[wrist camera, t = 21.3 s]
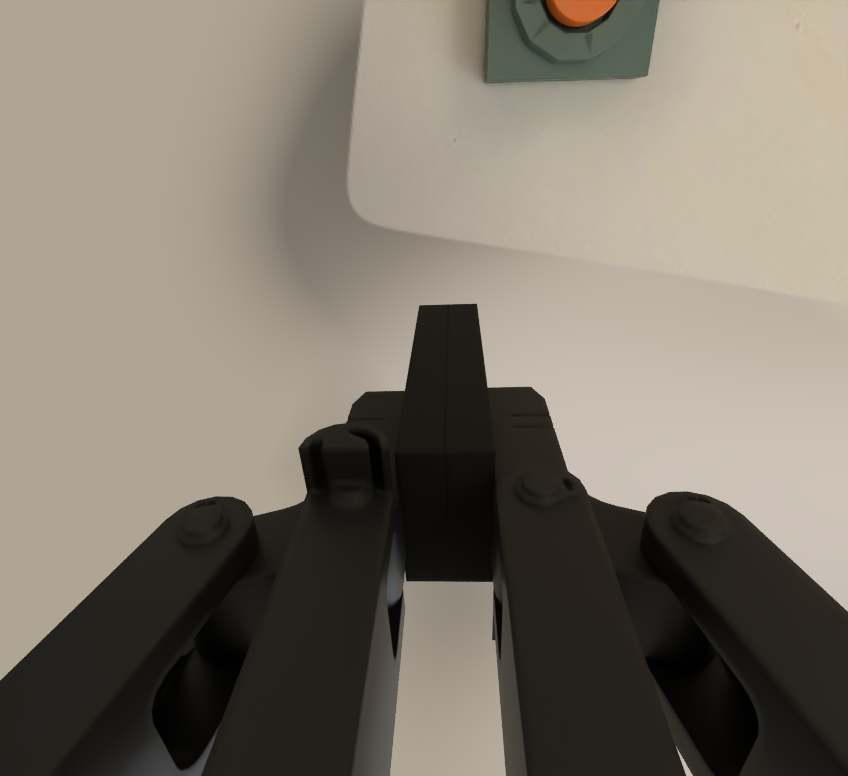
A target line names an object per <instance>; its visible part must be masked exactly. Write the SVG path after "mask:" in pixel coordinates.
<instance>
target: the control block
mask: <svg viewBox="0 0 848 776" xmlns="http://www.w3.org/2000/svg"><path fill="white" fill-rule="evenodd" d="M658 6H659V0H617V1H616V3H615V4H614V5H613V6H612V8H611V9H610V10H609V11H608V12H606V13H605V14H604V15H603V16H601V17H600V18H598V19H597V20H595V21H594V22H592V23H590V24H588V25H585V26H582V27H569V26H566V25H563V24H561V23H560V22H558V21H557V20H556V19H555V18H554V17H553V16H552V14H551V13H550V11H549V9H548V7H547V4H546V0H487V10H486V46H485V83H503V82H535V81H567V80H599V79H631V78H639V77H644V76H647V75H648V70H649V63H650V57H651V51H652V44H653V38H654V32H655V25H656V19H657V13H658Z"/></svg>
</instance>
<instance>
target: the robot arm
mask: <svg viewBox="0 0 848 776" xmlns="http://www.w3.org/2000/svg"><path fill="white" fill-rule="evenodd" d="M299 453H300V458H301V463H302V468H303V473H304V478H305V483H306V488H307V495H306V498H305V500H304V501H303V502H301V503H299V504H297V505H295V506H292V507H289V508H286V509H282V510H278V511H274V512H269V513H265V514H261V515H256V516H253V514H252V510H251V509H250V508H249V506H248V505H247V504H246V503H245V502H244V501H242V500H239V499H236V498H234V497H212V498H207V499H203V500H199V501H196V502H194V503H192V504H190V505H188V506H185V507H183V508H181V509H180V510H178V511H177V512H176V513H174V514H173V515H172V516H170V517H169V518H168V519H166V520H165V521H164V522H163V523H162V524H161V525H160V526H159V527H158V528H157V529H156V530H155V531H154V532H153V533H152V534H151V535H150V536H149V537H148V538H147V539H146V540H145V541H144V542H143V543H142V544H141V545H140V546H139V547H137V548H136V549H135V551H133V552H132V553H131V554H130V555H129V556H128V557H127V559H125V560H124V561H123V562H122V563H121V564H120V565H119V566H118V567H117V568H116V569H115V570H114V571H113V572H112V573H111V574H110V575H109V576H108V577H107V578H106V579H105V580H104V581H103V582H101V584H99V585H98V586H97V587H96V588H95V589H94V590H93V591H92V592H91V593H90V594H89V595H88V596H87V597H86V598H85V599H84V600H83V601H82V602H81V603H80V604H79V605H78V606H77V607H76V608H75V609H74V610H73V611H72V612H71V613H69V614H68V615H67V616H66V617H65V618H64V619H63V620H62V621H61V622H60V623H59V624H58V625H57V626H56V627H55V628H54V629H53V630H52V631H51V632H50V633H49V634H48V635H47V636H46V637H45V638H44V639H43V640H42V641H41V642H40V643H39V644H38V645H37V646H36V647H35V648H34V649H32V650H31V651H30V652H29V653H28V654H27V655H26V656H25V657H24V658H23V659H22V660H21V661H20V662H19V663H18V664H17V665H16V666H15V667H14V668H13V669H12V670H11V671H10V672H9V673H8V674H7V675H6V676H5V677H4V678H3V679H2V680H0V776H390V768H391V757H392V745H393V735H394V724H395V713H396V701H397V691H398V681H399V670H400V659H401V648H402V636H403V625H404V615H405V604H404V594H403V583H404V573H405V572H406V581H453V582H454V581H456V582H461V581H462V582H464V581H466V582H493V585H494V593H493V594H494V595H493V635H492V636H493V637H492V640H496V653H497V665H498V678H499V691H500V704H501V716H502V729H503V742H504V753H505V754H504V755H505V767H506V776H686V774H685V771H684V769H683V766H682V763H681V760H680V757H679V754H678V751H677V749H678V750H679V752H680V754H681V755H682V757H683V759H684V760H685V762H686V764H687V766H688V768H689V769H690V771H691V773H692V774H693V776H848V612H847V611H846V610H845V609H844V608H843V607H842V606H841V605H840V604H839V603H838V602H836V601H835V600H834V599H833V598H832V597H831V596H830V595H829V594H828V593H827V592H826V591H825V590H824V589H823V588H821V587H820V586H819V585H818V584H817V583H816V582H815V581H814V580H813V579H812V578H810V576H808V575H807V574H806V573H805V572H804V571H803V570H802V569H801V568H800V567H799V566H798V565H797V564H796V563H794V562H793V561H792V560H791V559H790V558H789V557H788V556H787V555H786V554H785V553H784V552H782V551H781V550H780V549H779V548H778V547H777V546H776V545H775V544H774V543H773V542H772V541H771V540H770V539H768V538H767V537H766V536H765V535H764V534H763V533H762V532H761V531H760V530H759V529H757V527H756V526H754V525H753V524H752V523H751V522H750V521H749V520H748V519H747V518H746V517H745V516H744V515H742V514H741V513H739V512H738V511H737V510H735V509H734V508H732V507H731V506H729V505H728V504H726V503H724V502H722V501H719V500H717V499H714V498H712V497H710V496H707V495H702V494H697V493H691V492H668V493H666V494H663V495H660V496H658V497H655V498H654V499H653V500H652V502H651V503H650V504H649V505H648V506H647V509H646V512H641V511H637V510H632V509H628V508H623V507H618V506H615V505H611V504H608V503H605V502H602V501H600V500H597V499H595V498H593V497H591V496H589V495H588V494H587V491H586V489H585V487H584V486H583V484H582V483H581V481H580V480H579V479H578V478H576V477H575V476H574V475H572V474H571V473H569V472H568V470H567V467H566V464H565V461H564V458H563V455H562V451H561V448H560V445H559V442H558V439H557V436H556V433H555V430H554V428H553V423H552V420H551V417H550V416H549V411H548V408H547V405H546V402H545V399H544V398H543V397H542V396H541V395H539V394H538V393H537V392H536V391H535V390H534V389H533V388H532V387H501V388H487V380H486V373H485V365H484V357H483V349H482V341H481V333H480V325H479V318H478V309H477V304H453V305H422V306H419V311H418V317H417V323H416V329H415V335H414V341H413V346H412V352H411V359H410V364H409V370H408V376H407V382H406V389H405V391H384V392H383V391H380V392H365V393H364V394H363V395H362V396H361V397H360V398H359V399H358V400H357V401H356V402H355V403H354V404H353V405H352V408H351V411H350V414H349V416H348V421H347V422H346V423H345V424H337V425H333V426H329V427H326V428H324V429H321V430H318V431H317V432H315V433H314V434H312V435H310V436H309V437H307V438H306V439H305V440H304V442H303V443H302V444H301V445H300V447H299ZM676 747H677V748H676Z"/></svg>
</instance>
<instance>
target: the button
mask: <svg viewBox="0 0 848 776" xmlns="http://www.w3.org/2000/svg"><path fill="white" fill-rule="evenodd" d="M616 1H617V0H546V4H547V7H548V9H549V11H550V13H551V14H552V16H553V17H554V18H555V19H556V20H557V21H558V22H560V23H561V24H563V25H566V26H569V27H582V26H585V25H588V24H590V23H592V22H594V21H595V20H597V19H598V18H600V17H601V16H603V15H604V14H605V13H606V12H608V11H609V10H610V9H611V8H612V6H613V5H614V4H615V3H616Z"/></svg>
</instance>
